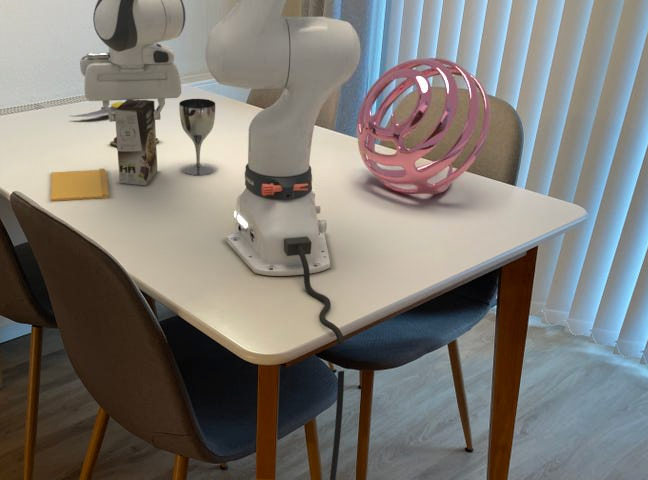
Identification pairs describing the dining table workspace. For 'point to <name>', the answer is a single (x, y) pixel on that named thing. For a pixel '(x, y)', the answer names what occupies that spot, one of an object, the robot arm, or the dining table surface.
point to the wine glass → (197, 128)
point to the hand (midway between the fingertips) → (134, 120)
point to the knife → (100, 111)
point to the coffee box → (136, 141)
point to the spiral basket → (397, 132)
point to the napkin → (79, 185)
